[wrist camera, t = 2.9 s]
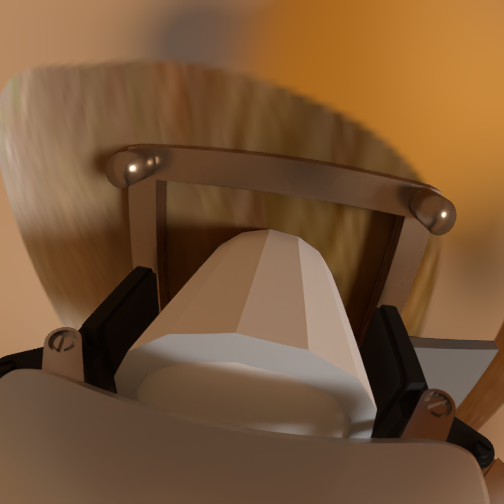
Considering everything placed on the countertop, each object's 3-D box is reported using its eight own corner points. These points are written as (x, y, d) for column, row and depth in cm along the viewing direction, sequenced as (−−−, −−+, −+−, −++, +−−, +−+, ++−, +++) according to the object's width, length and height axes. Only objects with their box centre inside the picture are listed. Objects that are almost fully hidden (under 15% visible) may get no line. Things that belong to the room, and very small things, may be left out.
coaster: (358, 331, 13) (360, 343, 12) (493, 340, 12) (498, 349, 12) (313, 431, 17) (313, 440, 16) (427, 430, 16) (429, 438, 15)
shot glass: (184, 209, 12) (76, 310, 5) (359, 220, 11) (422, 346, 5) (197, 341, 15) (147, 458, 8) (333, 354, 14) (340, 484, 8)
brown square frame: (141, 143, 11) (105, 152, 9) (430, 185, 10) (460, 203, 8) (154, 356, 16) (137, 387, 13) (354, 390, 15) (358, 425, 12)
